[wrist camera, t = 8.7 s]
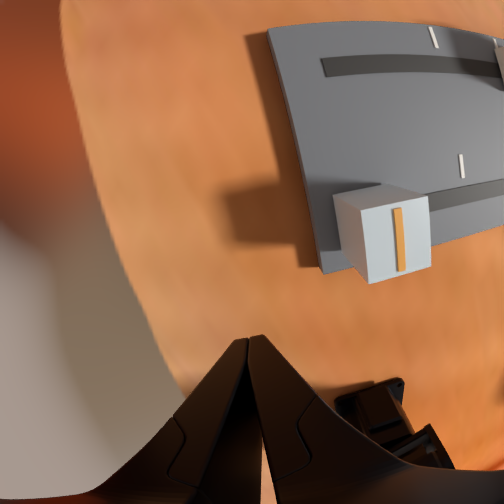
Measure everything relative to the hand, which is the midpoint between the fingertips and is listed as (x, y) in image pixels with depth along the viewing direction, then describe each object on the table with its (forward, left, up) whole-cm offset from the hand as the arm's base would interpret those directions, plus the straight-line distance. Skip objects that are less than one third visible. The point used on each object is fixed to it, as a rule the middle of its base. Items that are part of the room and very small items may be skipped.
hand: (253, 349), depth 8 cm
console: (+5, -15, -11) cm, 19 cm away
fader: (0, -7, -10) cm, 12 cm away
